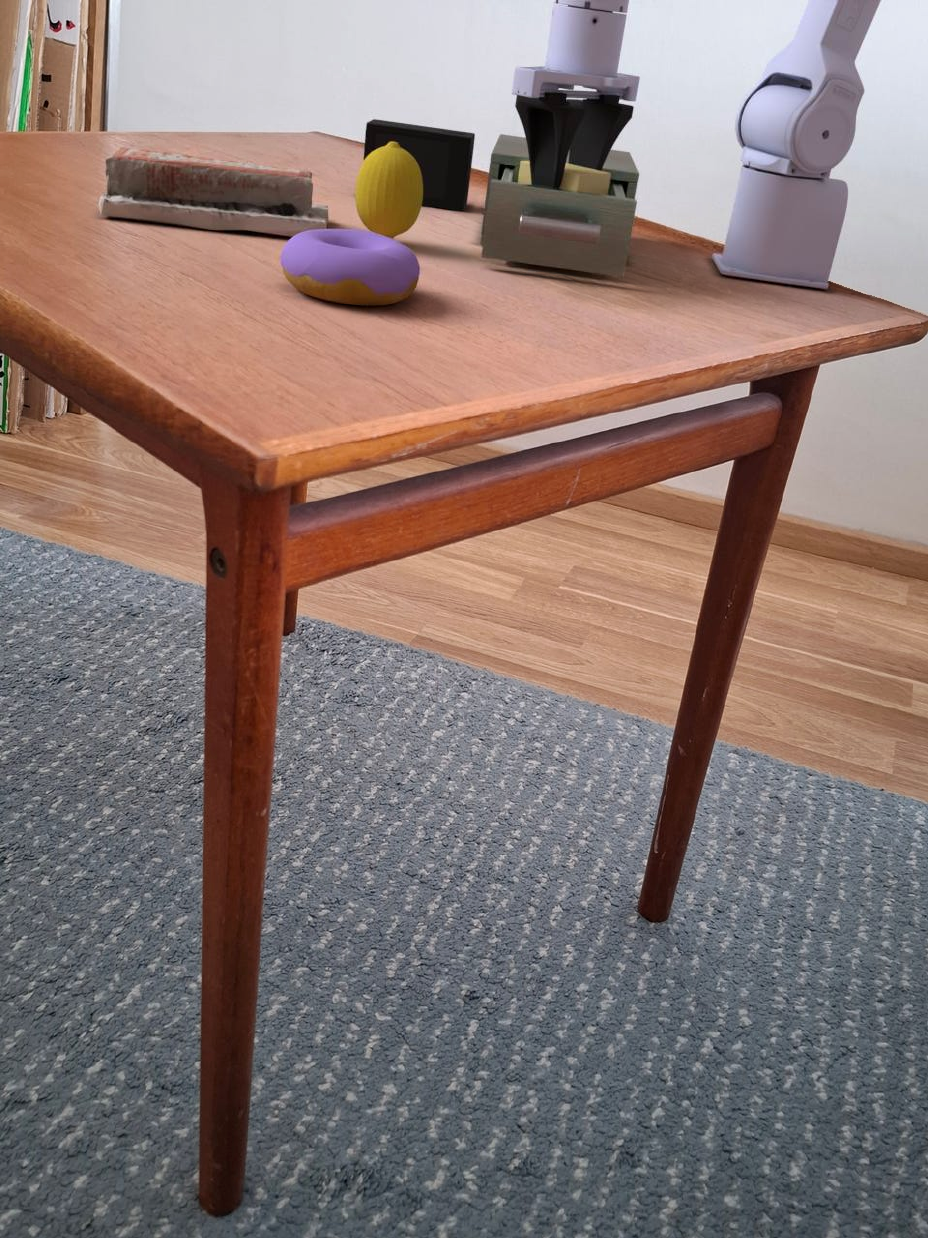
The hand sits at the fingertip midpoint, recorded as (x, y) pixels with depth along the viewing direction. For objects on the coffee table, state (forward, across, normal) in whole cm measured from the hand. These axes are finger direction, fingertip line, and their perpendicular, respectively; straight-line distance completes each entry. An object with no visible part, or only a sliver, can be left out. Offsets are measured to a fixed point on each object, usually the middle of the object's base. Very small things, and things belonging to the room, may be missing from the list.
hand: (562, 193), depth 98 cm
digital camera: (+6, +10, +25) cm, 27 cm away
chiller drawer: (+5, -1, -1) cm, 5 cm away
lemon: (+6, -9, +10) cm, 15 cm away
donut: (+6, -25, -1) cm, 25 cm away
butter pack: (+1, 0, 0) cm, 1 cm away
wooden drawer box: (+6, +9, +7) cm, 13 cm away
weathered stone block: (+6, -18, +22) cm, 29 cm away
